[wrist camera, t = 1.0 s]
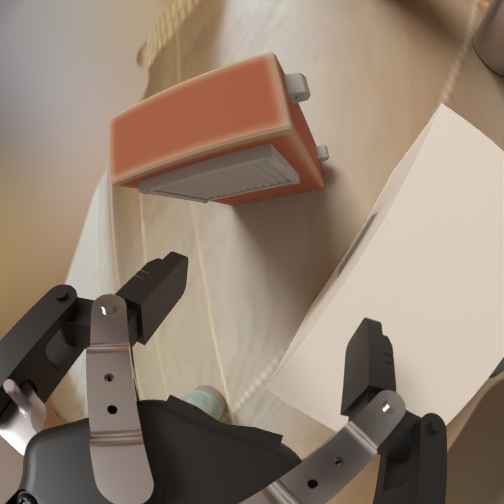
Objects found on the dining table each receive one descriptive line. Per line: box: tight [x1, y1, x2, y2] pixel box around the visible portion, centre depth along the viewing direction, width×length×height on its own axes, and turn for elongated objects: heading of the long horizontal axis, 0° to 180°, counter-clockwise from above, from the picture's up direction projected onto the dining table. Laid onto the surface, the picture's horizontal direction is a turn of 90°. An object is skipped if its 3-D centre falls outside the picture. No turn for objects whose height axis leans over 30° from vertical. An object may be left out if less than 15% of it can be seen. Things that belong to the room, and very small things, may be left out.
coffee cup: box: [181, 386, 226, 421], centre depth 36 cm, size 9×9×12 cm
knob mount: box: [265, 103, 504, 432], centre depth 22 cm, size 20×12×20 cm, turn 148°
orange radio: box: [110, 53, 329, 205], centre depth 25 cm, size 21×7×15 cm
